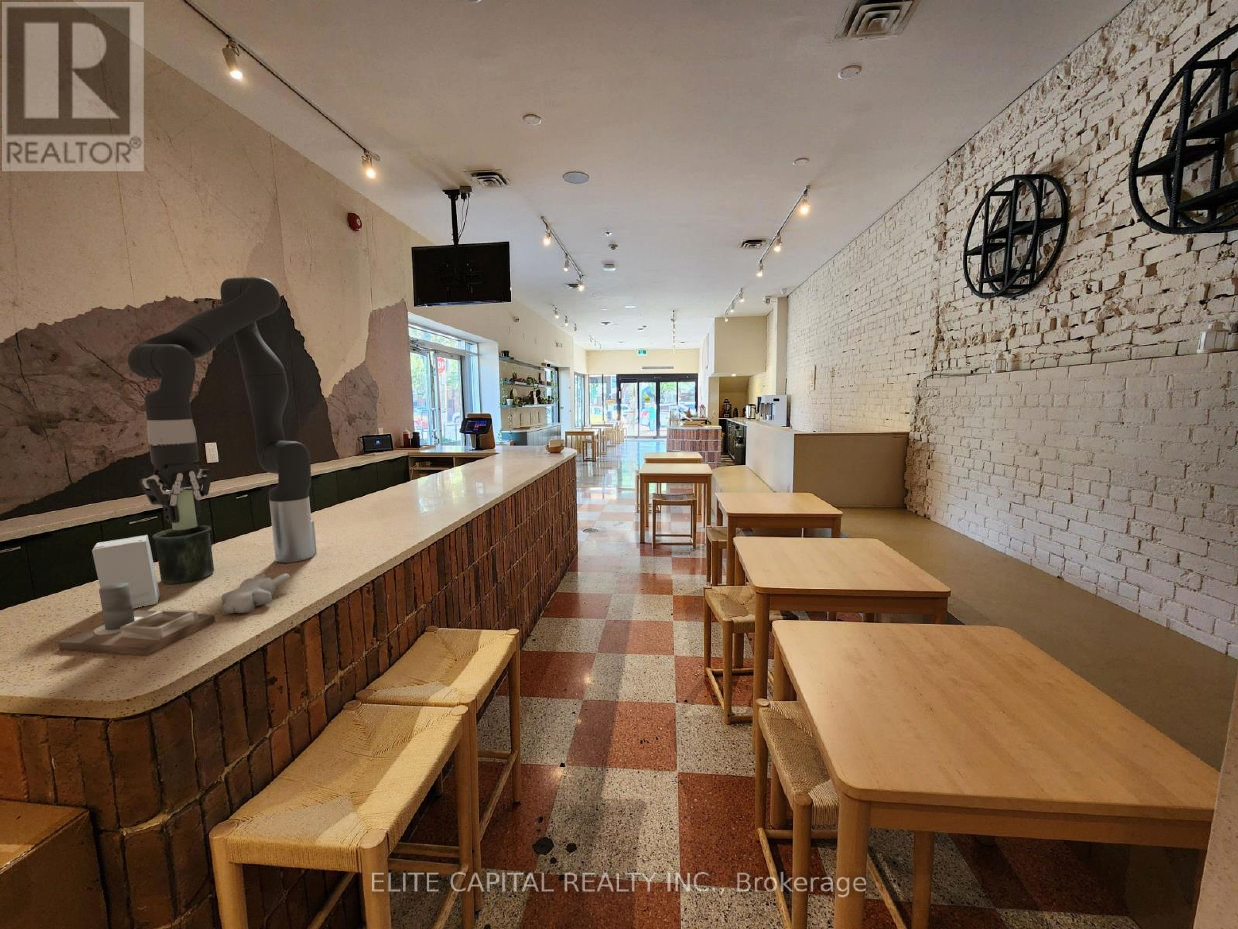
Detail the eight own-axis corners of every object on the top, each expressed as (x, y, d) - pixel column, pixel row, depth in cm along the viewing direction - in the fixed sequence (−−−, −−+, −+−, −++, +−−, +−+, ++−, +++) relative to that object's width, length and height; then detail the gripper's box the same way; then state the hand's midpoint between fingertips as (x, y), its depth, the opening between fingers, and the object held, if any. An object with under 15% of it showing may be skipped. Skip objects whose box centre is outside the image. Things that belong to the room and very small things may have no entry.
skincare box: (160, 596, 111) (151, 533, 108) (157, 605, 106) (148, 540, 104) (107, 606, 105) (96, 540, 103) (102, 616, 101) (91, 547, 98)
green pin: (186, 524, 107) (181, 489, 106) (202, 525, 106) (197, 489, 105) (167, 529, 103) (162, 493, 102) (184, 530, 103) (178, 493, 101)
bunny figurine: (206, 600, 99) (251, 567, 113) (211, 622, 100) (255, 586, 115) (255, 598, 100) (294, 565, 115) (260, 620, 101) (297, 585, 116)
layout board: (138, 616, 100) (131, 573, 99) (215, 621, 98) (209, 577, 97) (59, 649, 88) (50, 599, 86) (146, 655, 85) (138, 605, 84)
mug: (146, 587, 116) (139, 539, 114) (189, 566, 130) (183, 522, 128) (197, 584, 118) (190, 536, 116) (234, 563, 132) (229, 521, 130)
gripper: (190, 437, 109) (200, 511, 112) (119, 444, 95) (132, 528, 98) (220, 438, 108) (229, 512, 111) (153, 444, 94) (165, 529, 97)
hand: (183, 519), depth 104 cm, fingers closed on green pin, 4 cm apart
